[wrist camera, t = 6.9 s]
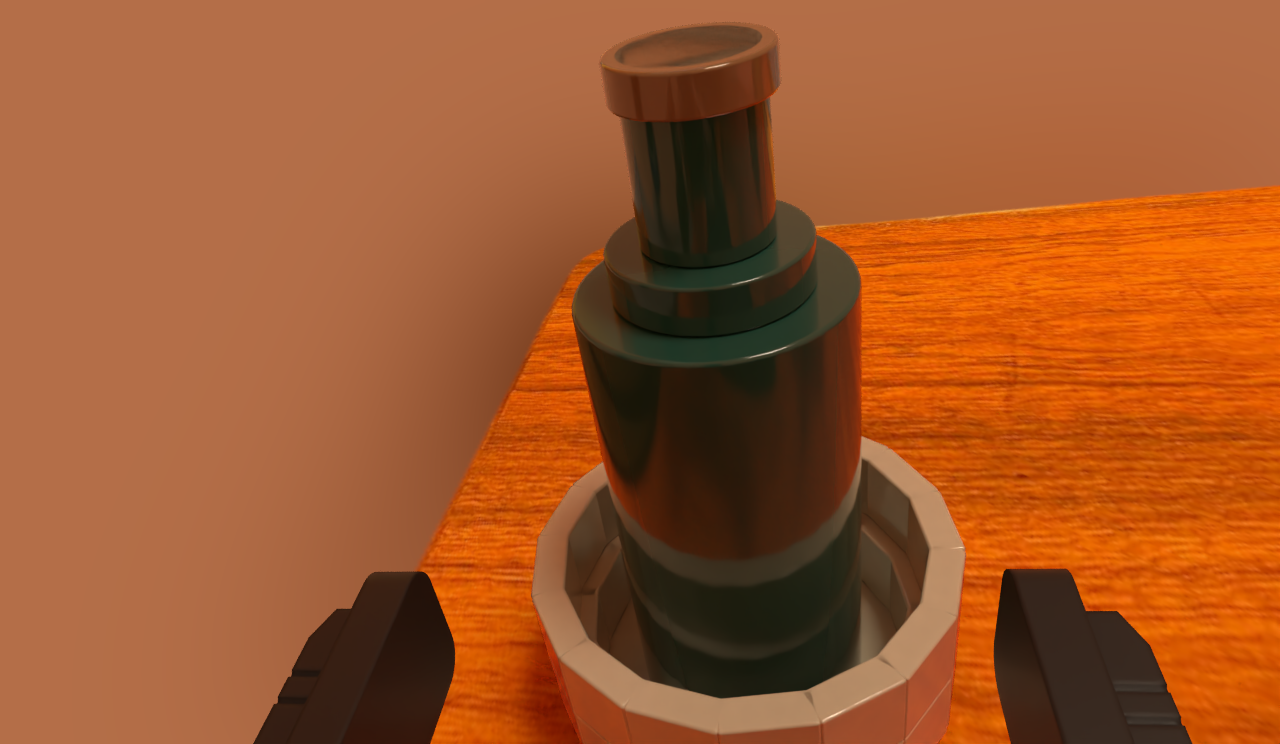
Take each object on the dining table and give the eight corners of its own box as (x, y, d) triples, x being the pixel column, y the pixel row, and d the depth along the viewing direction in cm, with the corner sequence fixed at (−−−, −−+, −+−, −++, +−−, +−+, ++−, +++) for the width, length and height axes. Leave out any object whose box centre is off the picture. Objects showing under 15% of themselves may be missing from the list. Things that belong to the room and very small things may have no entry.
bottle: (705, 787, 20) (590, 130, 12) (615, 619, 25) (483, 54, 16) (907, 685, 22) (938, 33, 13) (787, 544, 26) (752, -12, 18)
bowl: (660, 938, 18) (628, 820, 16) (522, 609, 26) (486, 496, 24) (1044, 729, 21) (1068, 599, 18) (811, 487, 29) (806, 374, 26)
